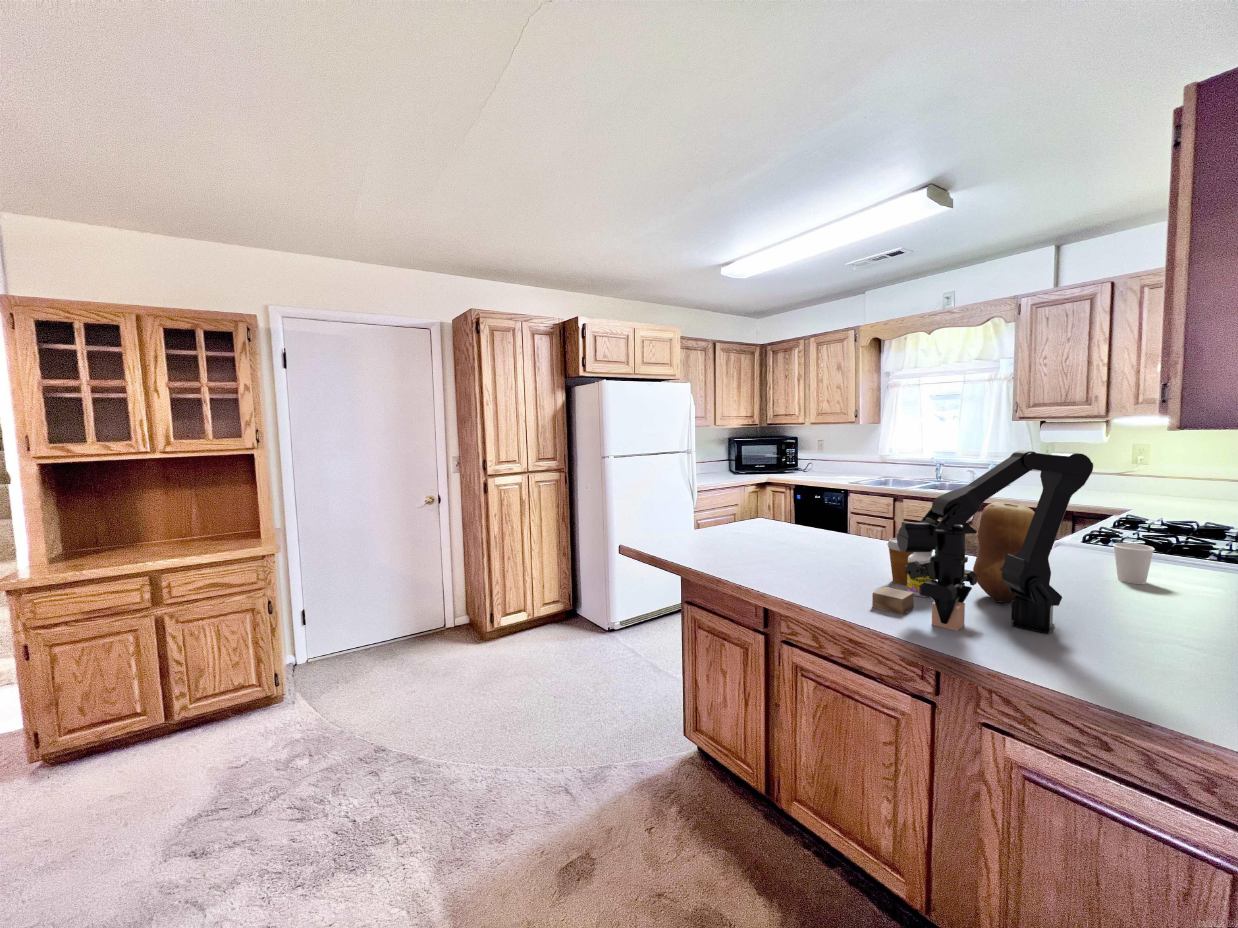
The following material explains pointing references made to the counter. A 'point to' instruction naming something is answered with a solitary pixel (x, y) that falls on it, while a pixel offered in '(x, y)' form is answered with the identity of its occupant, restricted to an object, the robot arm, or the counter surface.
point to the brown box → (893, 600)
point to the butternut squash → (999, 545)
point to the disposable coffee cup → (898, 562)
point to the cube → (955, 619)
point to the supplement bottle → (915, 583)
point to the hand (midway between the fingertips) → (948, 620)
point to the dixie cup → (1132, 562)
